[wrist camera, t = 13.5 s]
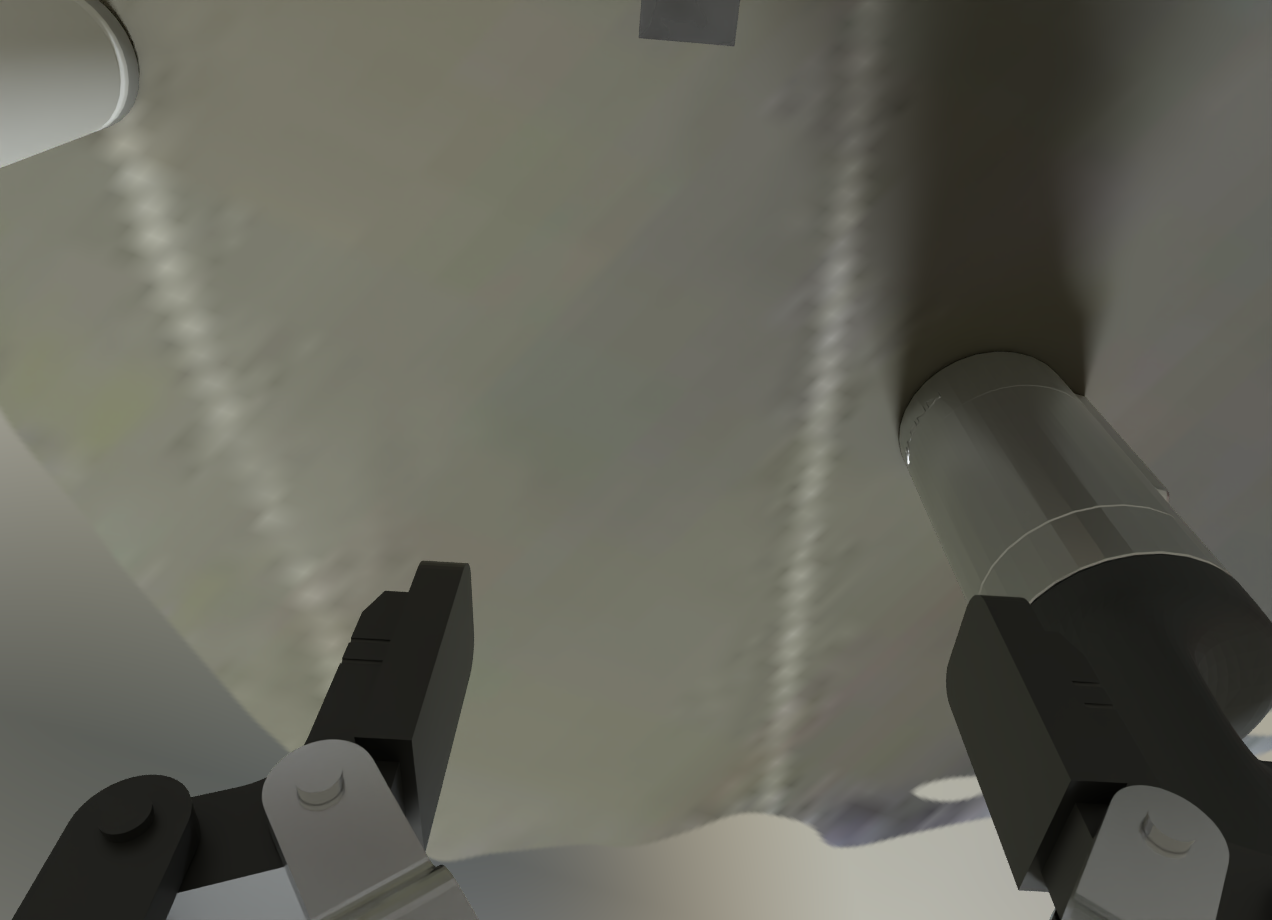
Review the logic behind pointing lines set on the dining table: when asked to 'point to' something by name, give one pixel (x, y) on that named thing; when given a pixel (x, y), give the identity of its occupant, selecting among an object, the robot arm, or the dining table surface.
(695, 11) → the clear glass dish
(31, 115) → the travel mug
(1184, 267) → the dining table surface
